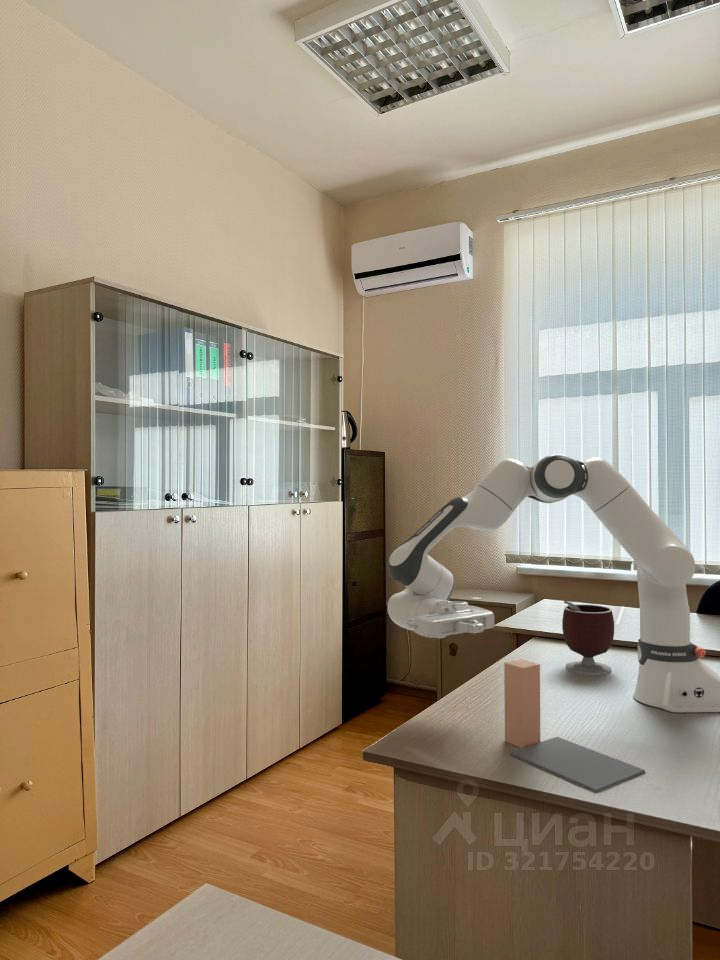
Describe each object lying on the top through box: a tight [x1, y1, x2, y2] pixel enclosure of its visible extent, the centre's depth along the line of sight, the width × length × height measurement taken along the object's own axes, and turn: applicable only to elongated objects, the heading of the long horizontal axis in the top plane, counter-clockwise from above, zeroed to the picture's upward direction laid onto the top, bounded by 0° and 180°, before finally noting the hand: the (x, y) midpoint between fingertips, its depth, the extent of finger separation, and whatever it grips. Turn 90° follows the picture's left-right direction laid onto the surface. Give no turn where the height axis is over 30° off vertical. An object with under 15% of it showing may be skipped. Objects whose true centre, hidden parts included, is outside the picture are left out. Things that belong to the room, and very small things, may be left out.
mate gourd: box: [561, 600, 615, 676], centre depth 194 cm, size 16×14×20 cm
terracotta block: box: [503, 658, 541, 749], centre depth 141 cm, size 5×5×16 cm
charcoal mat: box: [508, 736, 646, 793], centre depth 130 cm, size 20×14×1 cm
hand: (478, 628), depth 151 cm, fingers closed
